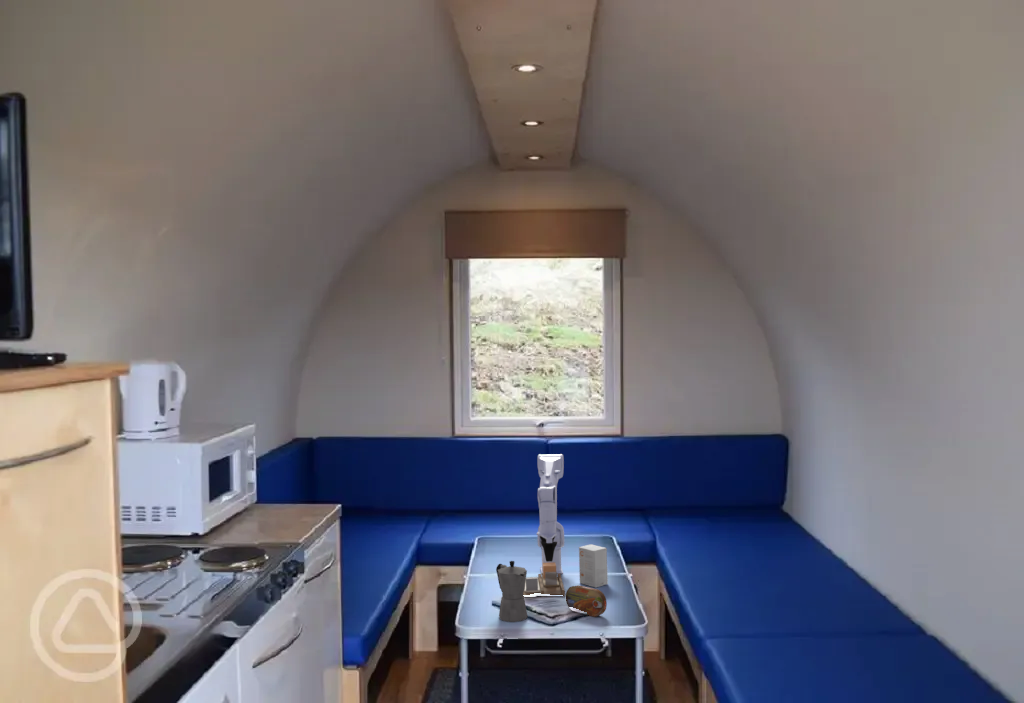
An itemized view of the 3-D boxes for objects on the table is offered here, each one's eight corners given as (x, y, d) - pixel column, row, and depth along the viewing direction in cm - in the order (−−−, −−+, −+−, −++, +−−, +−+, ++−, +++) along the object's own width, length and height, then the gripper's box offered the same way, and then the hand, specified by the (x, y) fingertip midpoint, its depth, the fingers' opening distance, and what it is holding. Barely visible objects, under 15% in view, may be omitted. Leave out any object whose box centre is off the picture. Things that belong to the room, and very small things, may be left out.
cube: (543, 575, 318) (542, 562, 318) (555, 574, 318) (555, 562, 318) (543, 578, 313) (543, 566, 313) (556, 578, 313) (556, 565, 313)
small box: (608, 584, 310) (607, 547, 310) (595, 588, 306) (594, 551, 306) (591, 579, 317) (591, 543, 316) (579, 583, 313) (578, 546, 312)
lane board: (519, 580, 317) (518, 574, 317) (560, 579, 318) (560, 573, 318) (520, 597, 297) (520, 591, 297) (564, 596, 298) (564, 589, 298)
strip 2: (541, 574, 320) (541, 562, 320) (556, 574, 321) (555, 561, 320) (543, 586, 305) (543, 573, 305) (559, 586, 306) (558, 573, 305)
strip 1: (522, 579, 314) (522, 567, 314) (537, 579, 314) (537, 566, 314) (524, 592, 299) (523, 579, 299) (540, 592, 299) (539, 578, 299)
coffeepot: (537, 619, 275) (536, 562, 274) (512, 626, 269) (510, 568, 269) (510, 607, 287) (509, 552, 287) (485, 613, 282) (484, 557, 282)
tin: (565, 609, 284) (564, 584, 284) (571, 607, 286) (570, 581, 286) (602, 619, 274) (602, 592, 273) (608, 617, 276) (608, 590, 276)
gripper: (535, 516, 319) (536, 553, 319) (537, 525, 304) (538, 564, 304) (554, 515, 319) (555, 552, 319) (557, 524, 304) (558, 563, 305)
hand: (548, 558), depth 312 cm, fingers open, 7 cm apart
